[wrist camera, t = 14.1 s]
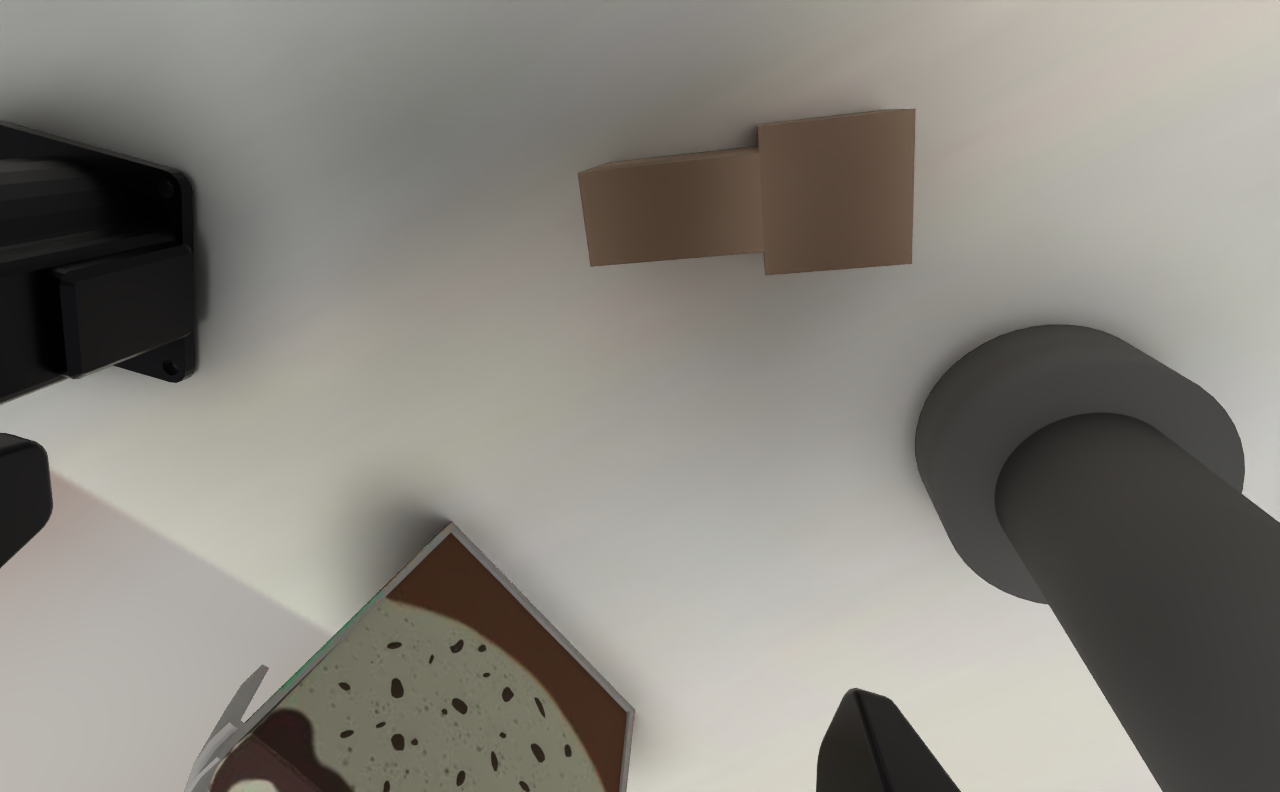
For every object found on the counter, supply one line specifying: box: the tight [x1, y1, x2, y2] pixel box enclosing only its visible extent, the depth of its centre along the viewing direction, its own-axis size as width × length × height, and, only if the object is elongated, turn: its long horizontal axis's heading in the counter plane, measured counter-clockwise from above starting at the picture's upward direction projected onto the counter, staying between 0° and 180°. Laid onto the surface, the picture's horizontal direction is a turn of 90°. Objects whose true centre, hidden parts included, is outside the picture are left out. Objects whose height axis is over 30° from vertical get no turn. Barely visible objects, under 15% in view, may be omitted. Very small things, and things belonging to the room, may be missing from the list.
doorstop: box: [915, 325, 1280, 792], centre depth 13 cm, size 6×6×13 cm
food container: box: [184, 522, 635, 792], centre depth 21 cm, size 12×6×10 cm, turn 40°
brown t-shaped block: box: [578, 109, 915, 275], centre depth 14 cm, size 20×3×7 cm, turn 96°
